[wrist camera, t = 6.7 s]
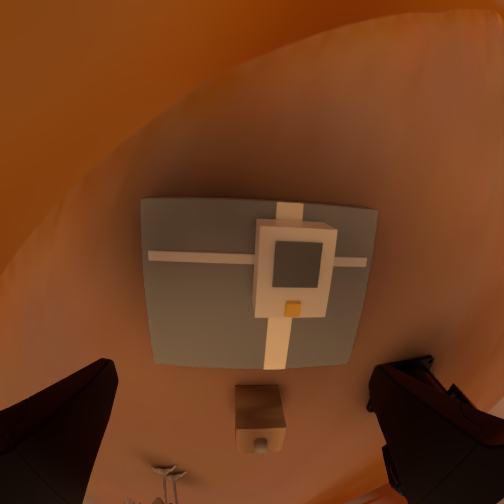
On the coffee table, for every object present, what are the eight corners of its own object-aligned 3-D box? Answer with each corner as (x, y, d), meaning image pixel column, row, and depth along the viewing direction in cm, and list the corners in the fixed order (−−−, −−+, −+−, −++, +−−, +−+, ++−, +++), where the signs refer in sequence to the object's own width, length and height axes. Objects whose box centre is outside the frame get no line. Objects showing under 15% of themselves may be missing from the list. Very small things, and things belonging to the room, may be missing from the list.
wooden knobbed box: (277, 384, 21) (288, 437, 16) (273, 410, 22) (282, 460, 17) (235, 385, 21) (236, 439, 15) (235, 411, 22) (236, 462, 16)
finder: (323, 222, 16) (339, 231, 13) (313, 299, 17) (326, 319, 15) (256, 218, 16) (260, 227, 13) (252, 298, 17) (255, 320, 14)
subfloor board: (368, 207, 18) (379, 210, 16) (342, 353, 21) (349, 365, 19) (147, 196, 17) (139, 199, 15) (158, 352, 20) (153, 364, 18)
